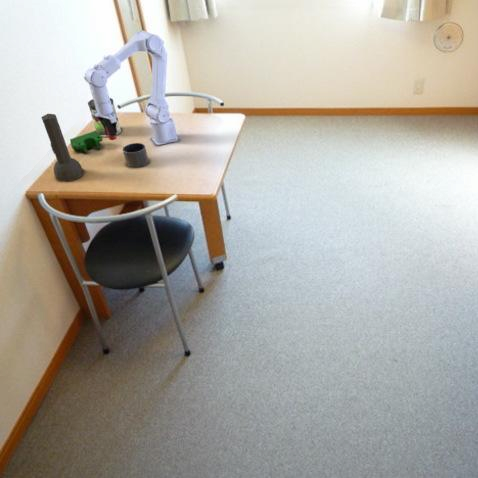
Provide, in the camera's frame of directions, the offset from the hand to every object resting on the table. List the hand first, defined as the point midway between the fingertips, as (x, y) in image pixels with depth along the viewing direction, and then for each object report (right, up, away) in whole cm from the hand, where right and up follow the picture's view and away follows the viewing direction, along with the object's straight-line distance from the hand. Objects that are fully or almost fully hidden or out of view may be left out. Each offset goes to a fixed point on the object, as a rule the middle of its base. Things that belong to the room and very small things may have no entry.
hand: (111, 134), depth 193 cm
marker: (0, -2, +1) cm, 2 cm away
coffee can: (-12, +6, +25) cm, 28 cm away
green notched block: (-14, -4, +12) cm, 19 cm away
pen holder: (+9, -11, +3) cm, 15 cm away
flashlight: (-14, -17, -5) cm, 23 cm away
